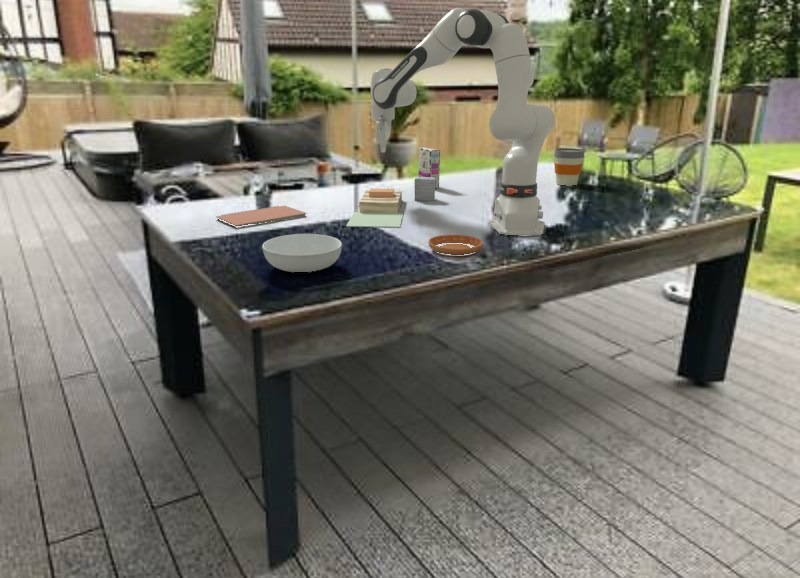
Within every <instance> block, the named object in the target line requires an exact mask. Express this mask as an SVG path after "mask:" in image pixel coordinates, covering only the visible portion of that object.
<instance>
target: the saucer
mask: <svg viewBox="0 0 800 578" xmlns="http://www.w3.org/2000/svg"><path fill="white" fill-rule="evenodd" d="M442 243H463V244H470V245H473V246H475V247H472V248H470V247H469V246H467V245H463V244H446V245H443V246H440V247H439V246H436V245H438V244H442ZM428 247H429V248H430V249H431V250H433V251H434V252H435V251H436V252H439V253H444V254H451V255H464V254H470V253H474V252H476V253H477V252H479V251H480V250H481V249H482V248H483V247H484V241H483V240H482V239H481V238H479V237H475V236H470V235H467V234H465V235H464V234H443V235H437V236H433V237H431V238H430V239H428ZM436 252H435V253H436Z"/></svg>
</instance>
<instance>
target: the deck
mask: <svg viewBox="0 0 800 578" xmlns="http://www.w3.org/2000/svg"><path fill="white" fill-rule="evenodd" d="M369 191H370V189H367V190H366V189H365V192H364V194H363V196H362V197H361V198H360V200H359V206H358V207H359V211H358V212H384V213H399V212H398V211H400V208H401V204H402V201H403V193H402V192H403V191H402V190H396V189H394V196H393V197H369Z"/></svg>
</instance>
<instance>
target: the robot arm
mask: <svg viewBox="0 0 800 578" xmlns="http://www.w3.org/2000/svg"><path fill="white" fill-rule="evenodd" d="M464 45H467V46H473V47H477V48H480V49H490V50H491V52H492V55H493V62H494V68H495V73H496V79H497V80H496V81H497V88H498V89H497V90H498V94H497V102H496V106H495V109H494V111H493V112H492V113H491V115H490V117H489V123H488V125H489V130H490V131H489V132H490V133H491V135H492V136H493V138H494V139H496V140H500V141H503V142H512V145H511V148H510V149H509V151H508V152H507V153H506V155H505V156H504V157H503V160H502V177H501V179H502V180H501V181H500V187H499V193H500V195H499V196H498V197H497V198H496V199H495V200H494V208H493V209H494V212H493V219H490V220H488V222H487V224H488V225H489V226H490V227H491V228H492V229H493V230H494V229H495V230H496V231H497V232H498V233H499V234H498V233H497V232H496V231H495V230H494V231H495V232H496V233H497V234H498V235H500V234H505V235H504V236H507V235H539V236H542V235H541V234H543V235H544V231H543V230H545V226H546V221H544V220H543V218H544V211H541V210H542V207H543V206H542V205H541V204H540V203H541V199H540V198H538V197H537V196H538V183H537V176H538V175H537V173H538V164H539V158H540V154H541V151H542V148H543V145H544V143H545V141H546V140H547V137H548V135H549V134H550V132H552V131H553V129H554V127H555V124H556V115H555V112H554V111H553V109H552V108H551V107H550V106H548V105H544V104H541V103H528V94H529V90H530V88H531V87H532V86H533V84H534V80H535V79H534V74H533V73H534V72H533V67H532V61H531V60H532V59H531V55H530V50H529V49H530V48H529V45H528V43H527V39H526V35H525V33H524V30H523V28H522V27H521V26H520V25H519V24H517V23H512V22H510V21H509V20H508V19H507V18H506V17H505V16H504V15H502V14H499V13H496V12H492V11H490V10H486V9H485V10H484V9H477V8H472V9H471V8H470V9H467V10H466V9H464V8H461V7H455V8H453V9H451V10H450V11H449V12H447V13H446V14H445V15H444V16H443V17H442V18H441V19H440V20H439V21H438V22H437V23H436V25H434V27H433V28H432V29H431V31H430V32H429V33H428V34H427V35H426V37H424V39H422V41H421V42H419V44H418V45H417V46H416V47H415V48H413V49H412V50H411V51H410V52H409V53H407V55H406V56H405V57H404V58H403V59H402V60H401V61H400V62H399V63H398V64H397V65H396V67H394V68H393V69H392V68H381V69H377V70H374V71H373V72H372V75H371V78H370V79H371V80H370V96H371V105H370V110H371V111H370V112H371V113H370V116H371V117H370V119H371V120H373V121H374V124H375V142H376V143H379V146H380V147H379V148H380V153H386V151H387V140H388V139H389V137H390V136H391V132H392V131H391V129H392V121H393V120H395V115H396V114H395V113H396V109H395V108H400V107H407V106H410V105H412V104H413V103H415V101H416V98H417V95H418V90H417V85H416V84H415V83H414V81H413V80H411V79H412V78H413V77H414V76H415V75H416V74H418V73H419V72H421V71H424V70H426V69H429V68H433V67H437V66H441V65H444V64H445V63H447V62H448V61H449V60H451V59H452V58H453V57H454V56H455V55H456V54H457V52H459V50H460V49H461V48H462V47H463V46H464ZM541 219H542V220H541ZM544 225H545V226H544Z"/></svg>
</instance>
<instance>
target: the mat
mask: <svg viewBox="0 0 800 578" xmlns="http://www.w3.org/2000/svg"><path fill="white" fill-rule="evenodd" d="M403 217H404V212H398V213H384V212H360V211H358V212H357V211H354V212H353V213H352V215H351V217H350V219H349V221H348V222H347V224H346V226H345V227H346V228H347V227H348V228H349V227H350V228H399V227H400V228H401V225H400V224H402V221H403ZM401 220H402V221H401Z"/></svg>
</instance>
